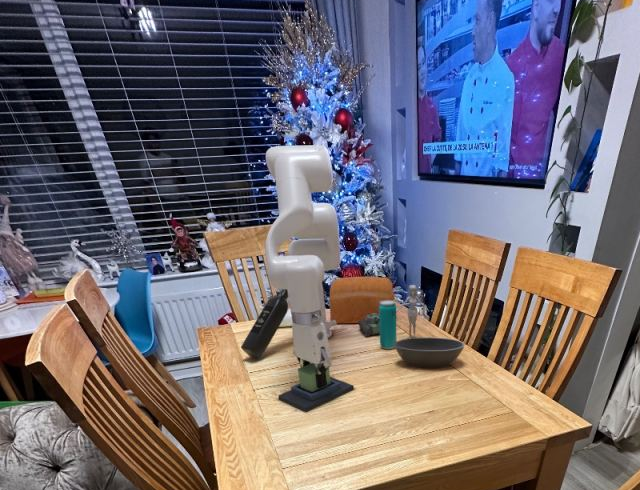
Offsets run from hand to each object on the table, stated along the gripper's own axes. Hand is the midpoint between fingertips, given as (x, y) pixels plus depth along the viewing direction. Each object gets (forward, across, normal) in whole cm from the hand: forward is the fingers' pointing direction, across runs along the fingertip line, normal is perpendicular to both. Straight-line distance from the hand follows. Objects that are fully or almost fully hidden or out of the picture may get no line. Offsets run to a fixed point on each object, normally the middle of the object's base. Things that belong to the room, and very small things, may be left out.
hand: (315, 383), depth 121 cm
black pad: (+3, 0, 0) cm, 3 cm away
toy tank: (+4, +24, -50) cm, 55 cm away
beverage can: (+4, +9, -41) cm, 42 cm away
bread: (+4, +39, -59) cm, 71 cm away
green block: (+1, 0, 0) cm, 1 cm away
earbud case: (+4, +59, -35) cm, 69 cm away
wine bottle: (+1, +37, -3) cm, 37 cm away
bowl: (+4, -11, -38) cm, 40 cm away
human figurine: (+4, +8, -53) cm, 54 cm away
